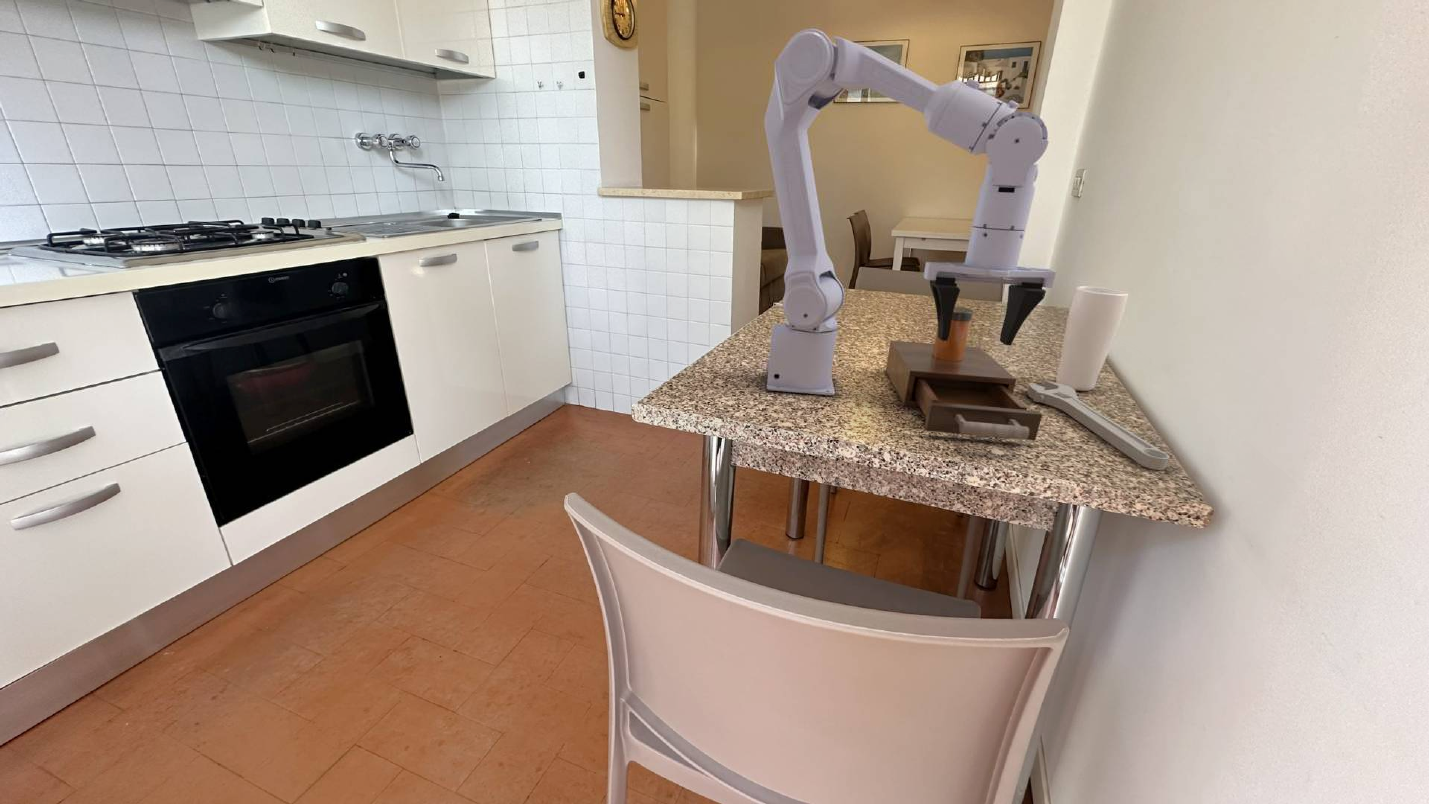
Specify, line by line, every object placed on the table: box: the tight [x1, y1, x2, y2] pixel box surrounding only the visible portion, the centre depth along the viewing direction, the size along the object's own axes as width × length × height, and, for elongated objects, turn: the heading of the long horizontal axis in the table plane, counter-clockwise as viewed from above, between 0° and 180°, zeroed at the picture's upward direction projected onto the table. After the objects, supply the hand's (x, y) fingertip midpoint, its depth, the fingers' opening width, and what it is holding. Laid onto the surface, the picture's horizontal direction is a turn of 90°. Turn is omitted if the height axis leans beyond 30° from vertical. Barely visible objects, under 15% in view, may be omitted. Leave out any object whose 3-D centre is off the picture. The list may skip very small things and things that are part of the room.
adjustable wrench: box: [1026, 380, 1170, 471], centre depth 74 cm, size 25×6×2 cm, turn 176°
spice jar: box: [932, 305, 975, 361], centre depth 81 cm, size 4×4×7 cm
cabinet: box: [885, 340, 1018, 408], centre depth 83 cm, size 16×14×5 cm
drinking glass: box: [1055, 285, 1130, 392], centre depth 86 cm, size 7×7×15 cm
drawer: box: [912, 377, 1043, 441], centre depth 71 cm, size 18×12×3 cm
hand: (973, 341), depth 72 cm, fingers open, 7 cm apart
